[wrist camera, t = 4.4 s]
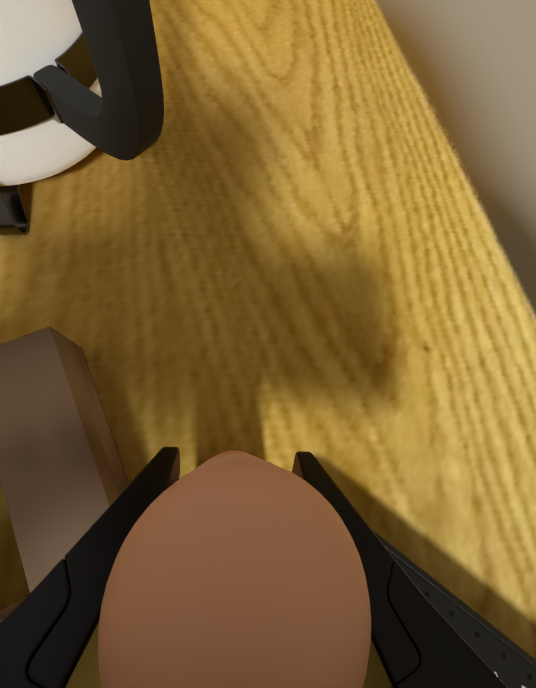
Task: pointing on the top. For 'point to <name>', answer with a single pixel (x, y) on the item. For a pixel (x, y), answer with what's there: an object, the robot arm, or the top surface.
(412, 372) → the top surface
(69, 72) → the coffee press
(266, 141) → the top surface
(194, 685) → the terracotta dowel
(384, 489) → the top surface
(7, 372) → the brown square frame
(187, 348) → the top surface
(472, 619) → the multiport hub
